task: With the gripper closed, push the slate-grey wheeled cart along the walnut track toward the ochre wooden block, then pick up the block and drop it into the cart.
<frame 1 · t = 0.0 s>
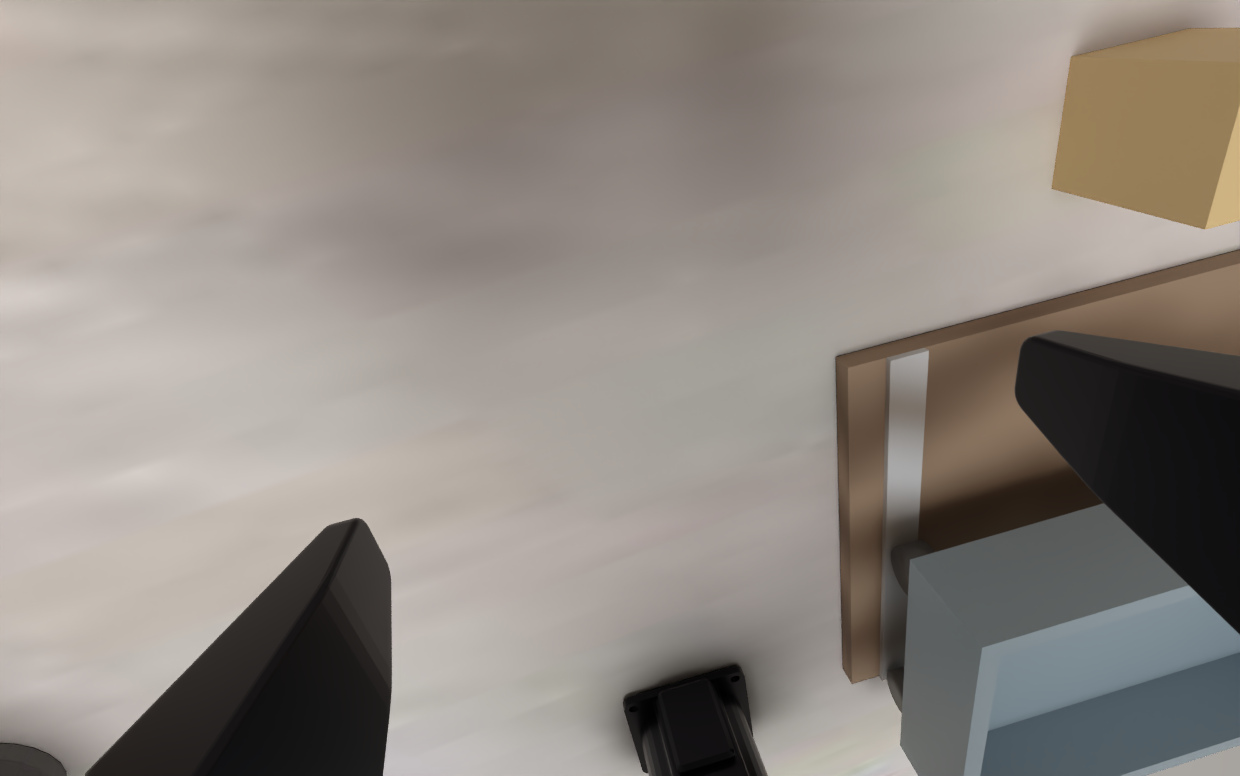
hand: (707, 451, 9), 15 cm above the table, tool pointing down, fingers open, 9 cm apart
ochre block: (1117, 111, 23), on the table
beverage cup: (8, 771, 28), on the table
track: (1050, 477, 32), on the table
cart: (1113, 622, 30), point 5 cm above the table, slide at -5.0 cm
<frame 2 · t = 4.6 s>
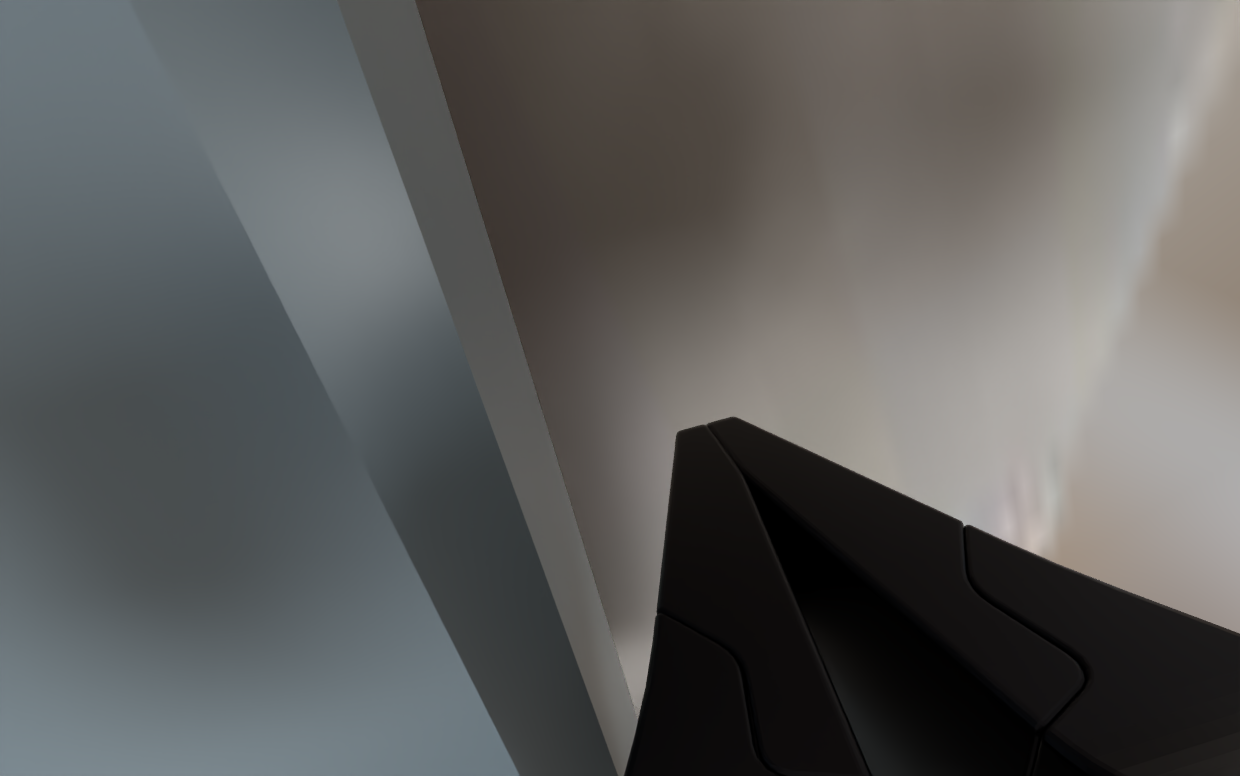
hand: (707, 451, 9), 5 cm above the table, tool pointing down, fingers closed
cart: (33, 632, 8), point 5 cm above the table, slide at -4.7 cm, touching gripper
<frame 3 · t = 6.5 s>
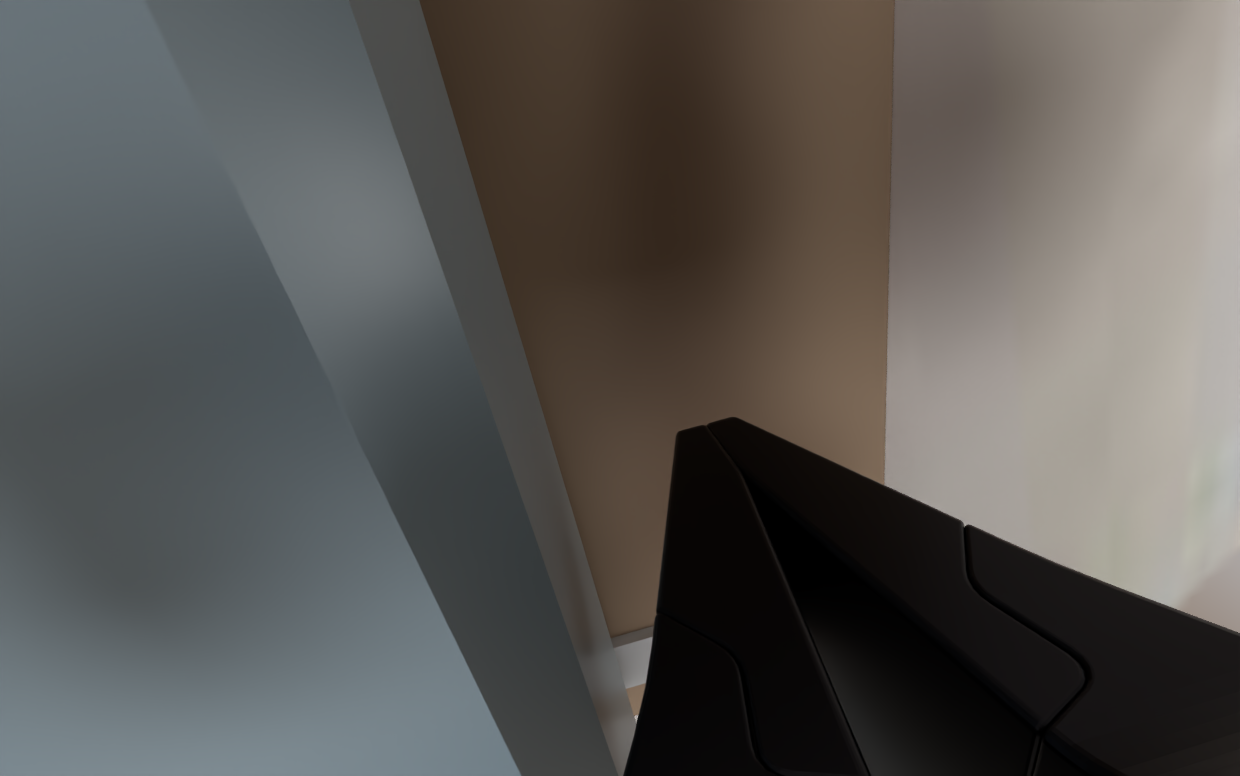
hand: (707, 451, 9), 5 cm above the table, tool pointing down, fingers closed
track: (378, 377, 12), on the table
cart: (30, 628, 8), point 5 cm above the table, slide at 3.7 cm, touching gripper
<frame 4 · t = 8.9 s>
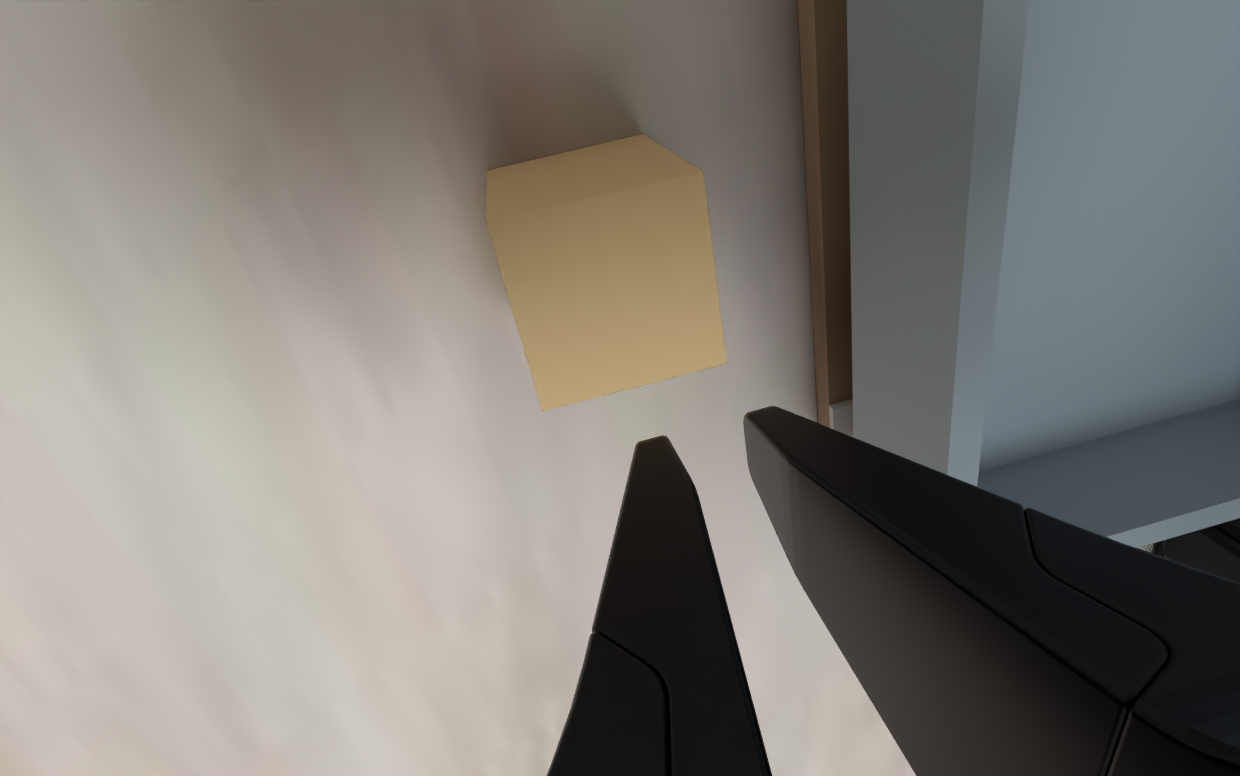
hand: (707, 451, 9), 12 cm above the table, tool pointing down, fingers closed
ochre block: (582, 229, 19), on the table
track: (1108, 100, 20), on the table
cart: (1133, 151, 16), point 5 cm above the table, slide at 3.7 cm
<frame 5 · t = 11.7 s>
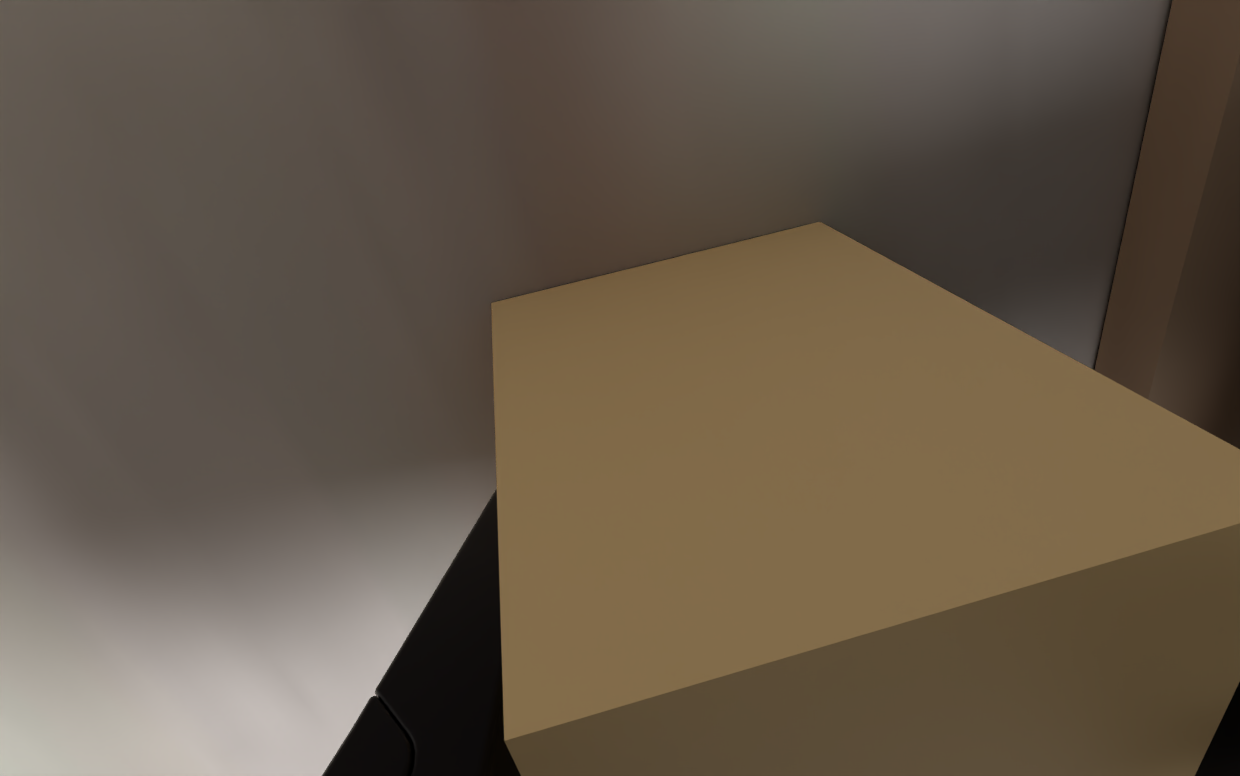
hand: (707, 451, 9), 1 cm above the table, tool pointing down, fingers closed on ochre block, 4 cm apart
ochre block: (681, 404, 10), on the table, touching gripper
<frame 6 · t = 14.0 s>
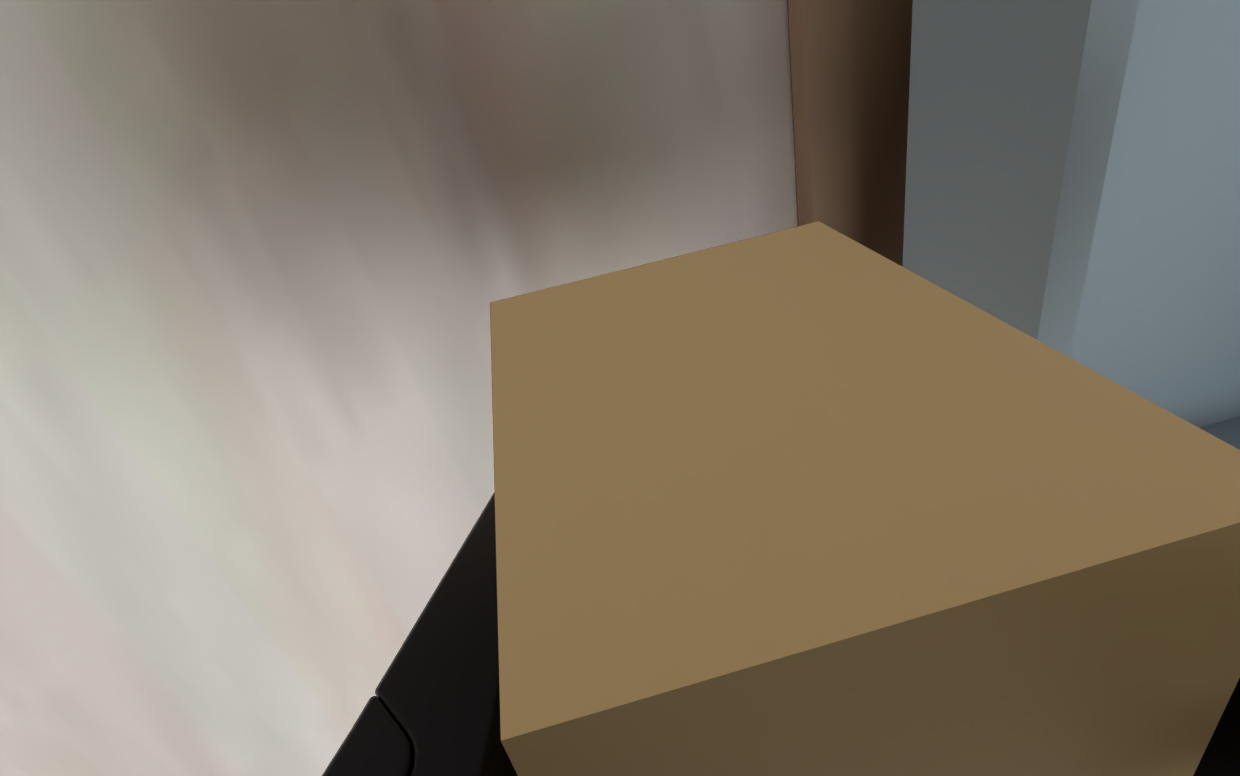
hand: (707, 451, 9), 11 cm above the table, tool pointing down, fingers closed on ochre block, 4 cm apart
ochre block: (680, 403, 10), point 10 cm above the table, touching gripper
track: (1113, 100, 19), on the table
cart: (1206, 139, 15), point 5 cm above the table, slide at 2.2 cm
when the fingers open (8 cm above the table, at t = 16.3 s): ochre block drops 2 cm, resting on cart.
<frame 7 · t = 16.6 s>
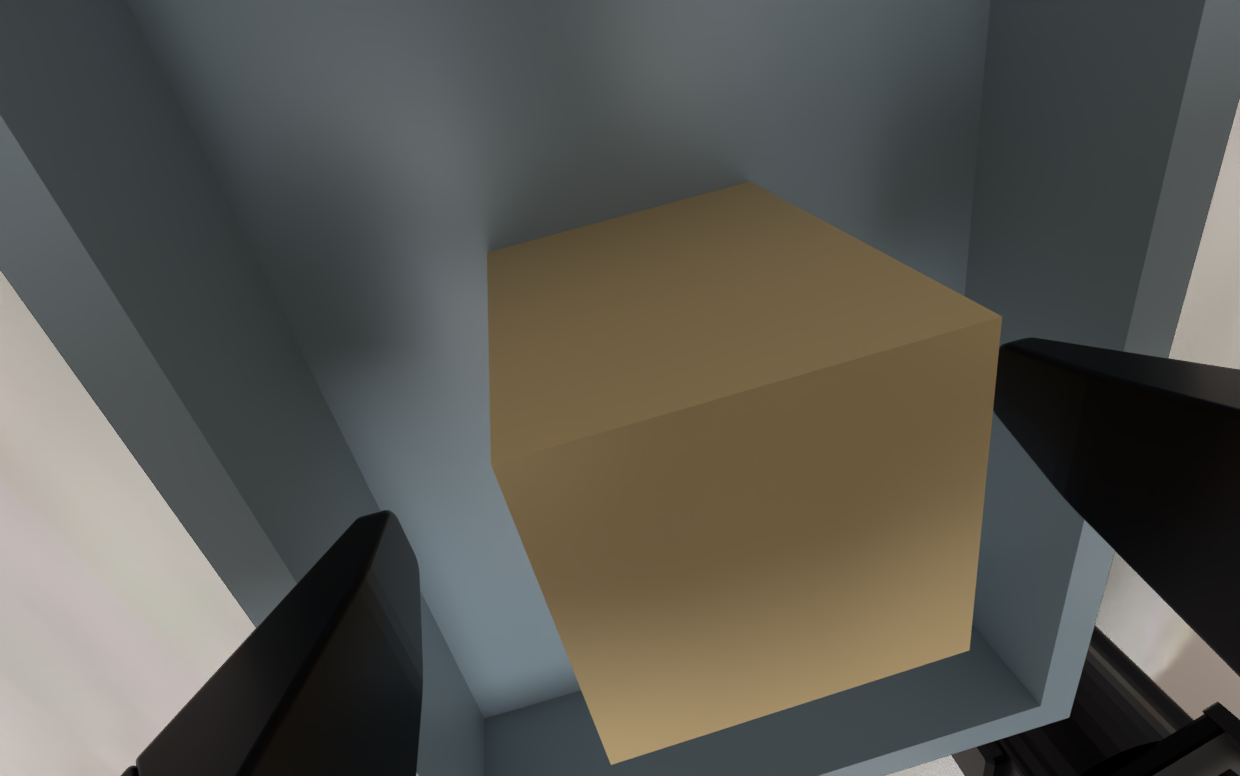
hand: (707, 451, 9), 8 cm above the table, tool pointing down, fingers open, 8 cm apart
ochre block: (646, 337, 12), point 5 cm above the table, touching cart
cart: (662, 334, 12), point 5 cm above the table, slide at 2.2 cm, touching ochre block
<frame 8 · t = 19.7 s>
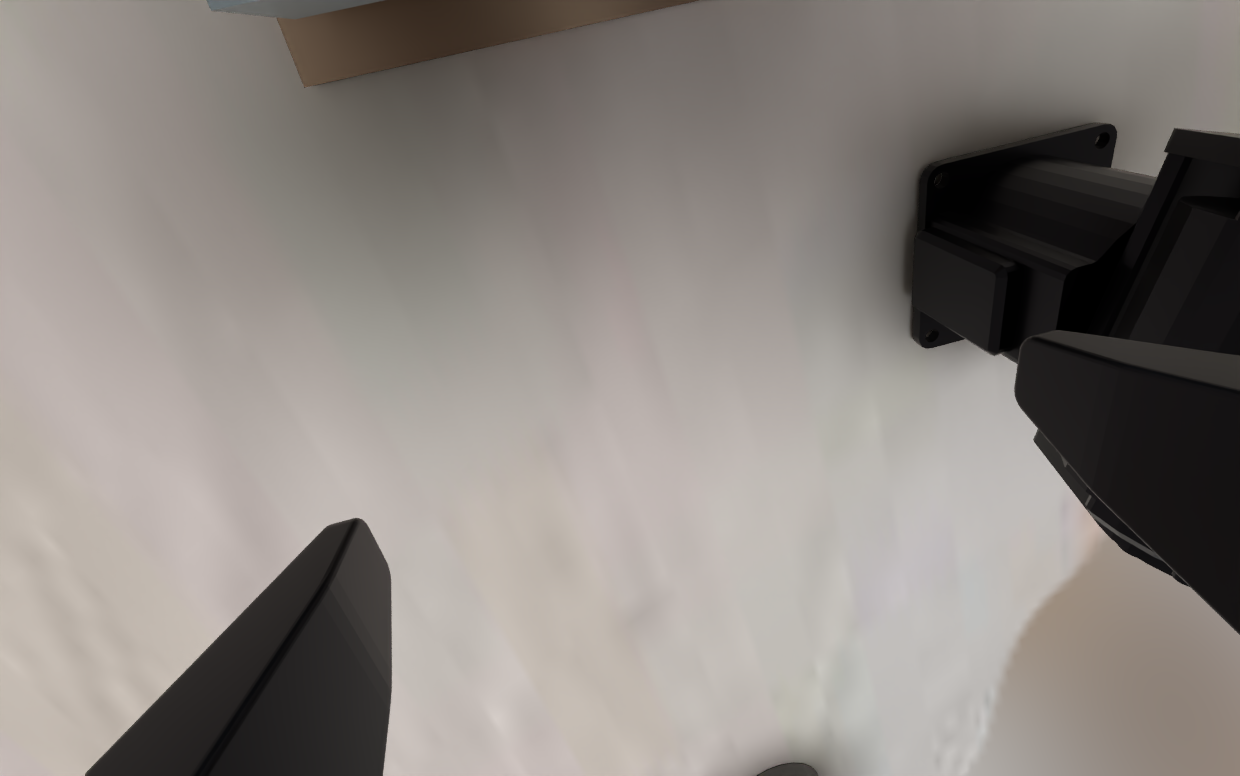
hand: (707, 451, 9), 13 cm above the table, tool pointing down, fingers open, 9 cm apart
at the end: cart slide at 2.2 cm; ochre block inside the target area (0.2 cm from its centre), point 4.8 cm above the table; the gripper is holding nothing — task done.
